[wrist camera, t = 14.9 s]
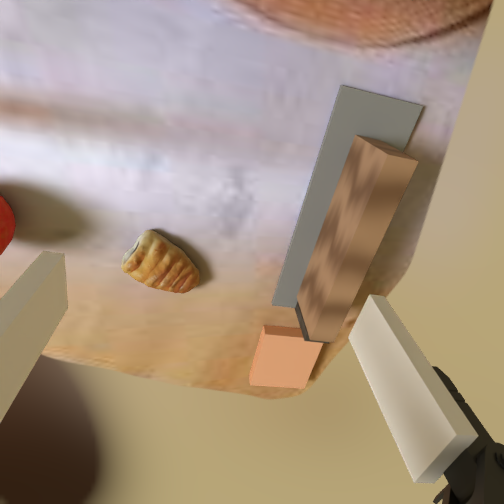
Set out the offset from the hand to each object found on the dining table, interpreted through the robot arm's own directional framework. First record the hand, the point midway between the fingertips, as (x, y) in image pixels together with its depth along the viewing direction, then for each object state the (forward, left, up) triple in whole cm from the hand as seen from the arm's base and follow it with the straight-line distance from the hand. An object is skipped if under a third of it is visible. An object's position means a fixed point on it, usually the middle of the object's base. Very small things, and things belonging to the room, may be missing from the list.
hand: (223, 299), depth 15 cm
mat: (+5, +15, -25) cm, 29 cm away
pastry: (+14, -5, -25) cm, 29 cm away
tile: (+23, +15, -24) cm, 37 cm away
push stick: (+6, +15, -24) cm, 29 cm away
